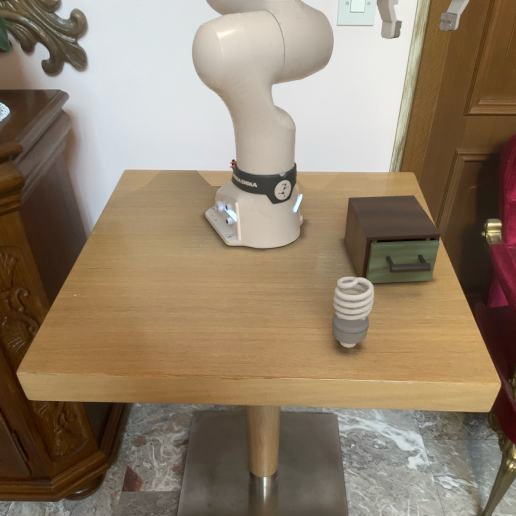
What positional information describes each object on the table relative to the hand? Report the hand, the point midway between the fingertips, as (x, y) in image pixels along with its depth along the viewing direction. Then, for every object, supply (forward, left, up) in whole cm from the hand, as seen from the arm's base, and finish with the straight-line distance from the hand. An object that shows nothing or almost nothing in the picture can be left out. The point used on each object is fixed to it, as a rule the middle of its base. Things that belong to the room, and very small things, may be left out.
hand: (419, 34), depth 64 cm
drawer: (-5, +8, -39) cm, 40 cm away
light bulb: (+7, -13, -40) cm, 42 cm away
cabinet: (-9, +11, -39) cm, 42 cm away
